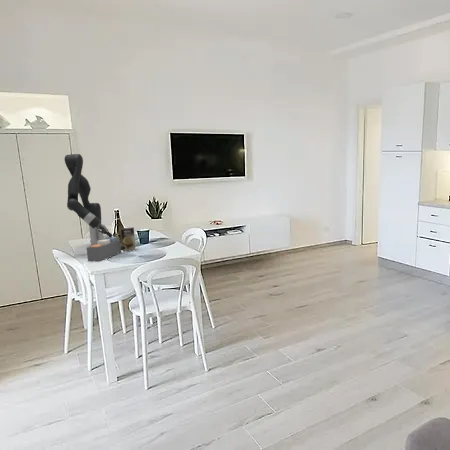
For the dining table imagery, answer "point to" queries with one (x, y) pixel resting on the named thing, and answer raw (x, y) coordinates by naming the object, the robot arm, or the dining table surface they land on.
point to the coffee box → (128, 239)
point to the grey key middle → (103, 242)
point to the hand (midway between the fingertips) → (111, 236)
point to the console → (103, 251)
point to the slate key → (112, 239)
